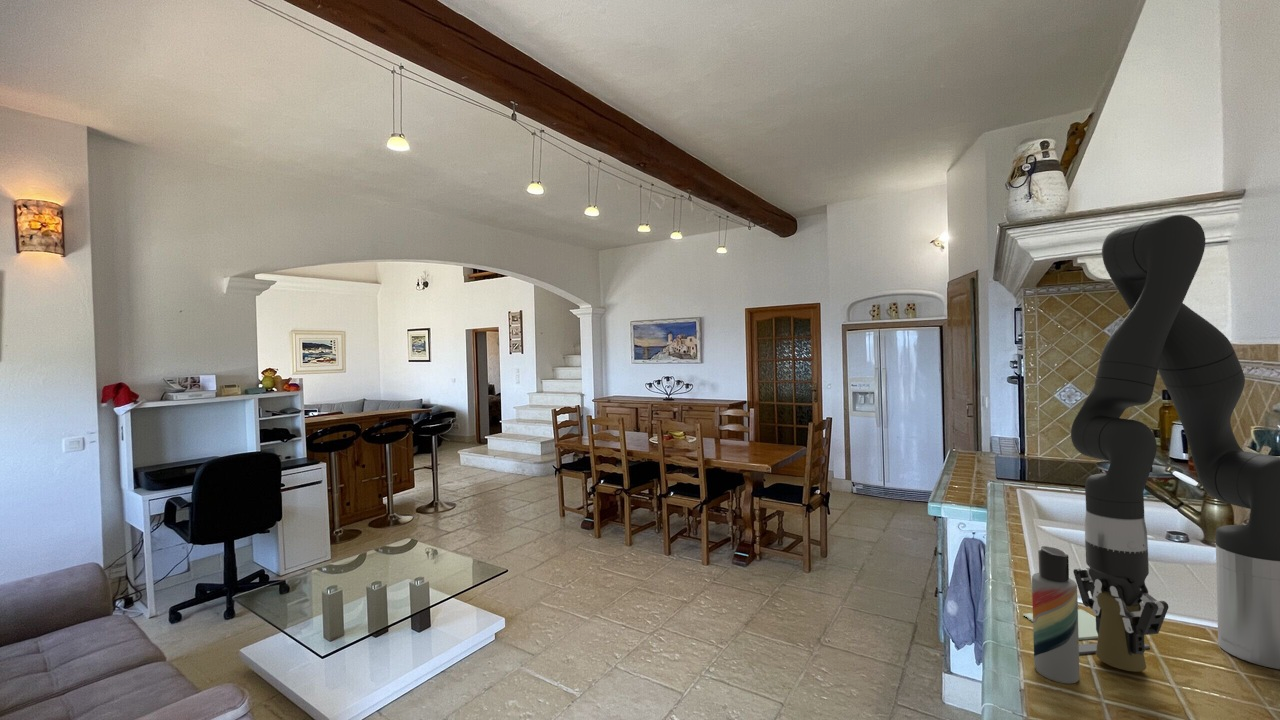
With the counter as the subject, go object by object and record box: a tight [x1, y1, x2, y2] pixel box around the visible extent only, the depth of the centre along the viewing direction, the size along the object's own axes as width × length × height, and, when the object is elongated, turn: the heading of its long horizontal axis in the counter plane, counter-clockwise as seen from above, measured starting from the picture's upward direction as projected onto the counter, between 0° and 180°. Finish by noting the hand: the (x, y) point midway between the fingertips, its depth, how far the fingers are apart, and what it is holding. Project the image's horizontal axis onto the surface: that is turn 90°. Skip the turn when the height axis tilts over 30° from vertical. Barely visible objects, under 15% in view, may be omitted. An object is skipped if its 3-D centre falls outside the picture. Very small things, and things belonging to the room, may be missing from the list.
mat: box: [1022, 608, 1098, 641], centre depth 98 cm, size 12×9×1 cm
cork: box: [1095, 591, 1147, 672], centre depth 85 cm, size 6×6×11 cm
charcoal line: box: [1079, 642, 1151, 656], centre depth 90 cm, size 16×2×1 cm, turn 94°
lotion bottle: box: [1031, 545, 1080, 685], centre depth 84 cm, size 6×6×20 cm
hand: (1119, 645), depth 85 cm, fingers closed on cork, 4 cm apart
